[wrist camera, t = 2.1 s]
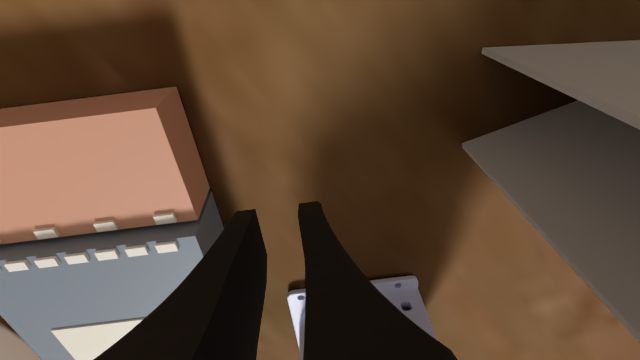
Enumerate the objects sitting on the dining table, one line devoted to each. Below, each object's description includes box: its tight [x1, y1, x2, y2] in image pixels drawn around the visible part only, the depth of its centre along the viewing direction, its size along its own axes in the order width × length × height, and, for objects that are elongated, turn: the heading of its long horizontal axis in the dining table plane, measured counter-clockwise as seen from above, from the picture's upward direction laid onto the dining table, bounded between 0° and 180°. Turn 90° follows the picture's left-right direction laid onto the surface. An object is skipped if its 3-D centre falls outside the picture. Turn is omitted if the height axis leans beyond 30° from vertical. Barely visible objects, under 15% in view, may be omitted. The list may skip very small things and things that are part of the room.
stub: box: [0, 87, 210, 244], centre depth 17 cm, size 12×6×3 cm, turn 96°
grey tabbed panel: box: [0, 191, 224, 360], centre depth 22 cm, size 12×12×4 cm
